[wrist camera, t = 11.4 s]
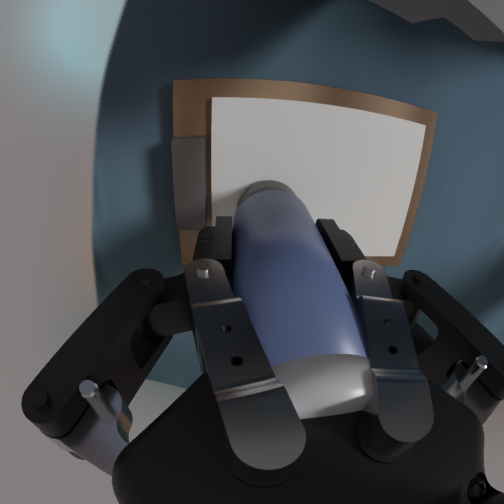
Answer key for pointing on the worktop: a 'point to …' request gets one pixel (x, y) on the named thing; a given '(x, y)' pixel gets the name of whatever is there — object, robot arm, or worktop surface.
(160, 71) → the worktop surface
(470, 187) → the worktop surface
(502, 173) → the worktop surface
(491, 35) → the grey curved block
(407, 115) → the clipboard
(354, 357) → the marker
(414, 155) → the paper
